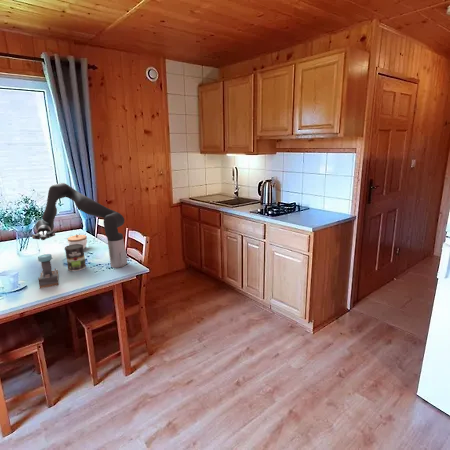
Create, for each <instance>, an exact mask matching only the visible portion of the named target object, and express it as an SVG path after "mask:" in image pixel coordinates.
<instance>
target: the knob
mask: <svg viewBox="0 0 450 450" xmlns="http://www.w3.org/2000/svg"><path fill="white" fill-rule="evenodd" d="M52 259H53V255H52V254H50V253H47V254H45V253H43V254H41V255H39V256H37V260H38V262H39V263H40V264H41V268H42V269H41V271H43V275H44V277H45V275H47V274H50V275H53V274H52V271H53V269H52V263H51V261H52Z"/></svg>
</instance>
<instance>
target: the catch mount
mask: <svg viewBox="0 0 450 450" xmlns="http://www.w3.org/2000/svg"><path fill="white" fill-rule="evenodd" d="M52 274H53V275H50V274H47V275H45V277H44V275H43V270H41V272H40V276H39V277H38V285H39V289H44V288H49V287H55V285H56V286H59V270H58V269H57V268H54V270H52Z"/></svg>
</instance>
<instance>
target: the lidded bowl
mask: <svg viewBox="0 0 450 450" xmlns="http://www.w3.org/2000/svg"><path fill="white" fill-rule="evenodd" d="M87 238H88V237H87V235H86V234H75V235H72V236H69V237H68V238H67V242H68V243H67V244H68V246H69V245H73V244H82V245H83V249H85V248H86V247H87V243H88V239H87Z"/></svg>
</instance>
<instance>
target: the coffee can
mask: <svg viewBox="0 0 450 450" xmlns="http://www.w3.org/2000/svg"><path fill="white" fill-rule="evenodd" d="M84 249H85V248H84ZM84 249H83V245H82V244H73V245H69V244H68V245H67V246H65V247H64V251H65V257H66V263H67V270H68V271H69V272H77V271H82V270H84V269H86V267H87V264H86V257H85V250H84Z"/></svg>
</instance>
